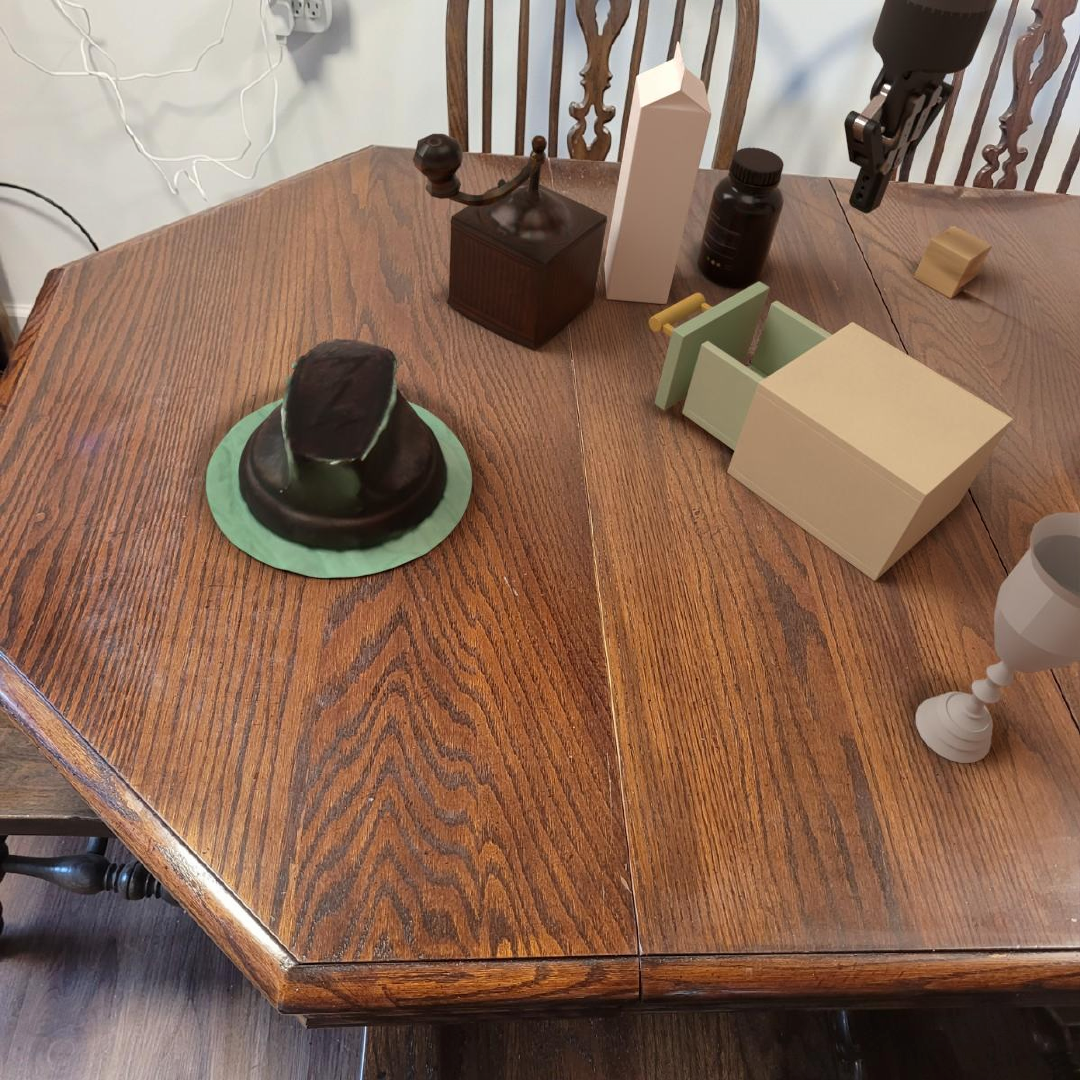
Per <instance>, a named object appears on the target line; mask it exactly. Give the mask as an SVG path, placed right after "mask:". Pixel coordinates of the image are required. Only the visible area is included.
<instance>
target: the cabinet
mask: <svg viewBox="0 0 1080 1080" xmlns="http://www.w3.org/2000/svg"><path fill="white" fill-rule="evenodd" d="M1012 422H1013V417H1011V416H1009V415H1008V414H1006V413H1004V412H1002V411H1001V410H999V409H997V408H996V407H995V406H993V405H991V404H989V403H988V402H986V401H984V400H982V399H981V398H979V397H977V396H976V395H974V394H973V393H971V392H969V391H968V390H966V389H964V388H963V387H961V386H960V385H958V384H956V383H955V382H954V381H951V380H950V379H948V378H946V377H945V376H943V375H941V374H940V373H938V372H936V371H935V370H933V369H932V368H930V367H928V366H927V365H925V364H923V363H921V362H920V361H919V360H917V359H915V358H913V357H912V356H910V355H908V354H906V353H905V352H903V351H902V350H900V349H898V348H896V347H895V346H893V345H892V344H890V343H889V342H887V341H885V340H883V339H882V338H880V337H878V336H877V335H875V334H874V333H872V332H871V331H869V330H867V329H865V328H863V327H862V326H860V325H859V324H857V323H855V322H854V321H852V322H850V323H848V324H847V325H845V326H844V327H842V328H841V329H839V330H838V331H836V332H835V333H833V334H832V336H830V337H828V338H827V339H825V340H824V341H822V342H821V343H819V344H818V345H816V346H815V347H813V348H812V349H810V350H808V351H807V352H805V353H804V354H802V355H801V356H799V357H798V358H796V359H795V360H793V361H792V362H790V363H788V364H787V365H785V366H784V367H782V368H781V369H779V370H778V371H776V372H775V373H773V374H772V375H770V376H768V377H767V378H765V379H764V380H762V381H761V382H759V384H758V387H757V389H756V392H755V395H754V398H753V401H752V403H751V406H750V409H749V412H748V415H747V418H746V420H745V423H744V426H743V429H742V432H741V434H740V437H739V440H738V443H737V446H736V449H735V451H734V450H733V451H734V452H733V454H732V457H731V460H730V463H729V466H728V468H727V474H728V475H729V476H731V477H732V478H734V479H735V480H736V481H738V482H739V483H740V484H742V485H743V486H744V487H746V488H747V489H749V490H750V491H751V492H753V493H754V494H756V495H757V496H758V497H759V498H761V499H762V500H764V501H765V502H766V503H767V504H769V505H770V506H771V507H773V508H774V509H775V510H777V511H778V512H780V513H781V514H782V515H784V516H785V517H787V518H788V519H789V520H791V522H793V523H795V524H796V525H797V526H799V527H800V528H802V529H803V530H805V531H806V532H807V533H808V534H810V535H811V536H813V537H814V538H815V539H817V540H818V541H819V542H820V543H822V544H823V545H825V547H827V548H828V549H830V550H831V551H833V553H835V554H837V555H838V556H839V557H841V558H842V559H844V560H845V561H846V562H848V563H849V564H851V566H853V567H855V568H856V569H857V570H859V572H861V573H863V574H864V575H865V576H867V577H868V578H869V579H871V580H872V581H873V582H876V581H877V580H879V578H880V577H882V575H883V574H885V573H886V572H887V571H888V570H890V568H891V567H892V566H894V565H895V564H896V563H897V562H899V560H900V559H901V558H903V556H905V554H906V553H908V552H909V551H910V550H911V549H912V548H913V547H914V546H915V545H916V544H918V542H920V541H921V540H922V539H923V538H924V537H925V536H926V535H927V534H928V533H929V532H930V531H932V530H933V529H934V528H935V527H936V526H937V525H938V524H939V523H941V521H942V520H944V519H945V518H946V517H947V516H948V515H949V514H950V513H951V512H952V511H954V510H955V508H957V507H958V506H959V505H960V503H961V501H962V499H963V498H964V496H966V493H967V492H968V490H969V489H970V488H971V486H972V484H973V482H974V481H975V480H976V478H977V476H978V475H979V473H980V471H981V470H982V469H983V467H984V465H985V464H986V462H987V461H988V459H989V457H990V456H991V455H992V453H993V451H994V449H996V447H997V446H998V443H999V442H1000V441H1001V439H1002V437H1004V434H1005V433H1006V431H1007V430H1008V429H1009V427H1010V425H1011V424H1012Z"/></svg>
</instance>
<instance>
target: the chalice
mask: <svg viewBox="0 0 1080 1080" xmlns="http://www.w3.org/2000/svg"><path fill="white" fill-rule="evenodd" d="M996 597H997V598H996V603H995V608H994V615H993V635H994V636H993V637H994V639H993V640H994V650H995V653H996V655H997V657H998V658H999V659H1000V660H1001V661H999V662H998V663H995V664H990V665H988V666H987V668H986V675H987V676H986V678H985V679H976V680H973V682H972V683H971V690H972V693H968V692H967V693H966V692H962V691H949V692H945V693H942V694H939V695H937V696H932V697H930V698H927V699H924V700H923V701H922V703H920V704H919V705H918V707H917V710H916V712H915V726H916V729H917V730H918V733H919V736H920V738H921V739H922V740H923V741H924V742H925V744H926V745H927V747H929V748H930V749H931V750H932V751H934V752H935V753H936V754H937V755H939V756H941V757H943V758H945V759H947V760H948V761H952V762H955V763H960V764H974V763H976V762H978V761H979V762H980V761H981V760H983V759H984V758H985V757H986V756H987V755H988V753H990V750H991V749H990V748H991V746H992V736H993V729H994V723H993V718H992V715H991V713H990V711H989V709H988V707H987V706H986V705H987V704H996V703H998V702H999V701H1000V700H1001V697H1002V696H1001V691H1000V689H1001V688H1003V687H1010V686H1012V684H1014V681H1015V680H1014V674H1015V672H1016V671H1017V672H1019V673H1024V674H1034V673H1039V672H1044V671H1049V670H1054V669H1059V668H1064V667H1066V666H1069V665H1072V664H1075V663H1078V662H1080V512H1060V511H1059V512H1055V513H1053V514H1048V515H1046V516H1045V515H1044V516H1043V517H1042V518H1041V519H1040V520H1038V521H1037V522H1036V523H1035V524H1033V527H1032V530H1031V534H1030V536H1029V549H1028V550H1027V551H1026V552H1025V553H1024V555H1023V556H1022V558H1021V559H1020V560H1019V561H1018V563H1017V564H1016V565H1015V566H1014V568H1013V569H1012V570H1011V572H1010V573H1009V575H1008V576H1007V577H1006V578H1005V579H1004V581H1003V582H1002V583H1001V585H1000V587H999V590H998V594H997V596H996Z"/></svg>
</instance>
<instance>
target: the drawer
mask: <svg viewBox="0 0 1080 1080" xmlns="http://www.w3.org/2000/svg"><path fill="white" fill-rule="evenodd" d="M770 289H771V288H770V286H768V285H766V284H765V283H763V282H761V281H759V280H758V281H756V282H755V283H753V284H751V285H749V286H747V287H746V288H744V289H743V290H741V291H739V292H737V293H736V294H734V295H732V296H730V297H728V298H726V299H725V300H723V301H721V302H719V303H718V304H716V305H714V306H711V305H710V304H709V303H706V298H705V296H704V295H703V294H702V293H700V292H695V293H693V294H691V295H689V296H688V297H686V298H684V299H681V300H680V301H678V302H677V303H675V304H672V305H671V306H669V307H667V308H665V309H663V310H662V311H659V312H658V313H656V314H654V315H652V316H651V317H650V318H649V319H648V326H649V328H650V330H651V331H653V332H654V333H660V332H663V333H665V334H666V335H667V336H669V337H670V339H669V343H668V347H667V352H666V354H665V359H664V364H663V367H662V371H661V374H660V379H659V383H658V387H657V390H656V395H655V399H654V402H653V403H654V405H656V406H657V407H658V408H660V409H661V410H663V411H666V410H668V409H669V408H671V407H673V406H674V405H676V404H677V403H679V402H681V401H682V400H684V399H685V402H684V405H683V408H682V411H681V413H682V415H684V416H685V417H686V418H688V419H690V420H691V421H692V422H694V423H695V424H697V425H698V426H699V427H701V428H702V429H703V430H704V431H705V432H707V433H709V434H711V435H712V436H713V437H714V438H715V439H717V440H718V441H720V442H722V443H723V444H724V445H725V446H727V447H728V448H729V449H731V450H733V451H735V449H736V446H737V443H738V440H739V437H740V434H741V432H742V429H743V426H744V423H745V420H746V418H747V415H748V412H749V409H750V406H751V403H752V401H753V398H754V395H755V392H756V389H757V387H758V384H759V382H761V381H762V380H764V379H765V378H767V377H768V376H770V375H772V374H773V373H775V372H776V371H778V370H779V369H781V368H782V367H784V366H785V365H787V364H788V363H790V362H792V361H793V360H795V359H796V358H798V357H799V356H801V355H802V354H804V353H805V352H807V351H808V350H810V349H812V348H813V347H815V346H816V345H818V344H819V343H821V342H822V341H824V340H825V339H827V338H828V337H830V336H832V335H833V334H832V333H830V332H828V331H827V330H826V329H824V328H822V327H821V326H819V325H817V324H816V323H814V322H812V321H811V320H809V319H808V318H806V317H804V316H803V315H802V314H800V313H798V312H796V311H795V310H793V309H791V308H790V307H788V306H787V305H785V304H784V303H782V302H780V301H779V300H775V301H773V302H771V304H770V306H769V309H768V313H767V315H766V318H765V322H764V325H763V326H762V330H761V332H760V336H759V338H758V341H757V345H756V347H755V350H754V353H753V356H752V360H751V363H750V364H749V365H747V366H746V365H744V363H743V362H745V361H747V357H748V354H749V351H750V349H751V345H752V343H753V340H754V336H755V334H756V330H757V328H758V324H759V322H760V319H761V315H762V313H763V310H764V306H765V304H766V300H767V299H768V294H769V292H770ZM697 311H700V312H701V313H700V314H698V315H696V316H695V317H693V318H690V319H689V320H687V321H685V322H683V323H682V324H680V325H678V326H676V327H674V326H673V325H674V324H676V323H678V322H680V321H681V320H683V319H684V318H687V317H688V316H690V315H692V314H694V313H695V312H697Z"/></svg>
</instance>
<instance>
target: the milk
mask: <svg viewBox="0 0 1080 1080" xmlns="http://www.w3.org/2000/svg"><path fill="white" fill-rule="evenodd" d="M673 55H674V56H673V58H672V59H670V60H668V61H665V62H663V63H661V64H659V65H656V66H655V67H652V68H651V69H648V70H646V71H643V72H641V73H639V74H637V75H636V77H635V83H634V87H633V88H634V89H633V94H632V100H631V105H630V112H629V118H628V122H627V123H628V124H627V128H626V135H625V142H624V146H623V152H622V159H621V163H620V171H619V175H618V176H619V177H618V182H617V188H616V194H615V199H614V205H613V210H612V217H611V222H610V228H609V235H608V240H607V247H606V252H605V258H604V263H603V266H604V281H605V296H606V299H607V300H612V301H623V302H636V303H645V304H646V303H647V304H656V305H657V304H660V305H667V303H668V300H669V295H670V290H671V286H672V282H673V278H674V274H675V269H676V265H677V261H678V257H679V253H680V249H681V245H682V241H683V237H684V233H685V232H684V231H685V228H686V224H687V220H688V216H689V211H690V207H691V203H692V198H693V195H694V190H695V186H696V181H697V178H698V174H699V169H700V165H701V161H702V157H703V152H704V147H705V143H706V141H707V136H708V131H709V127H710V124H711V123H710V122H711V119H712V111H711V107H710V103H709V99H708V94H707V90H706V86H705V82H703V80H702V79H700V77H698V76H696V75H695V74H694V73H693V72H692V71H690V69H688V68H687V67H686V66H685V63H684V59H683V53H682V49H681V45H680V42H679V41H677V42H676V46H675V51H674V54H673Z"/></svg>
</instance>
